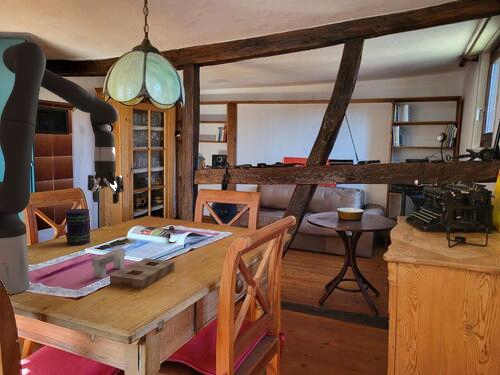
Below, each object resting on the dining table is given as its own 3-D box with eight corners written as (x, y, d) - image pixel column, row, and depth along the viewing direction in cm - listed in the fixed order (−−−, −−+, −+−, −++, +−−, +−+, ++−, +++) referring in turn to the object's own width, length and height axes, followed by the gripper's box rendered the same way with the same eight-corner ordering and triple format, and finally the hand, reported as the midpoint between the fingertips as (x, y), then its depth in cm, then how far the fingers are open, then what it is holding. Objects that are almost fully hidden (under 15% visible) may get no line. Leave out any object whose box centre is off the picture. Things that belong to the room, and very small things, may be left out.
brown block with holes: (142, 289, 121) (142, 279, 121) (110, 284, 125) (109, 275, 125) (174, 269, 140) (174, 261, 140) (145, 266, 144) (145, 258, 144)
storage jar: (94, 243, 176) (92, 210, 174) (71, 247, 169) (70, 213, 167) (85, 239, 183) (84, 207, 181) (63, 242, 176) (61, 210, 174)
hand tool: (177, 243, 178) (177, 233, 178) (168, 243, 177) (168, 233, 177) (176, 234, 197) (176, 224, 196) (168, 234, 196) (168, 225, 195)
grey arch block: (99, 278, 130) (99, 260, 129) (92, 277, 131) (91, 259, 130) (125, 266, 143) (125, 249, 142) (118, 265, 144) (118, 248, 143)
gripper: (82, 159, 143) (83, 203, 145) (115, 160, 139) (115, 205, 141) (95, 158, 151) (96, 200, 152) (127, 159, 146) (128, 202, 148)
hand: (105, 202), depth 146 cm, fingers open, 8 cm apart
